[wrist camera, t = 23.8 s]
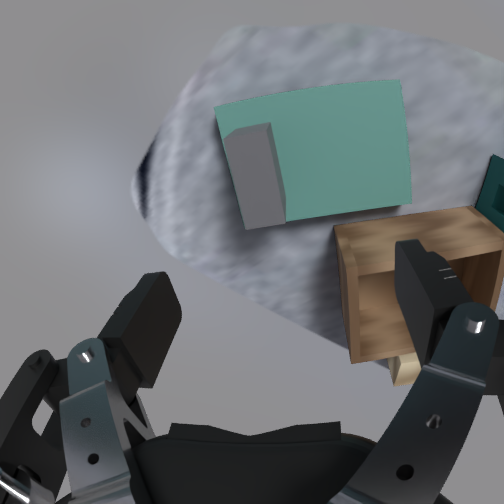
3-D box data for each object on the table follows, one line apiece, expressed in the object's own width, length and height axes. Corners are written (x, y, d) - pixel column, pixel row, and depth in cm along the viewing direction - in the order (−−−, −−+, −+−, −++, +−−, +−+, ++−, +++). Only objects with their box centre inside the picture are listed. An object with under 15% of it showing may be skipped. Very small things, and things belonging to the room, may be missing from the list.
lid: (390, 80, 21) (426, 79, 15) (403, 194, 25) (435, 229, 19) (219, 105, 23) (195, 112, 17) (247, 217, 28) (235, 259, 22)
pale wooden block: (392, 334, 33) (401, 363, 29) (464, 325, 31) (478, 350, 28) (386, 358, 35) (393, 386, 31) (455, 348, 33) (467, 373, 29)
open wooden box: (471, 205, 24) (510, 239, 18) (462, 291, 29) (488, 333, 23) (333, 225, 27) (346, 267, 21) (342, 313, 32) (351, 363, 26)
